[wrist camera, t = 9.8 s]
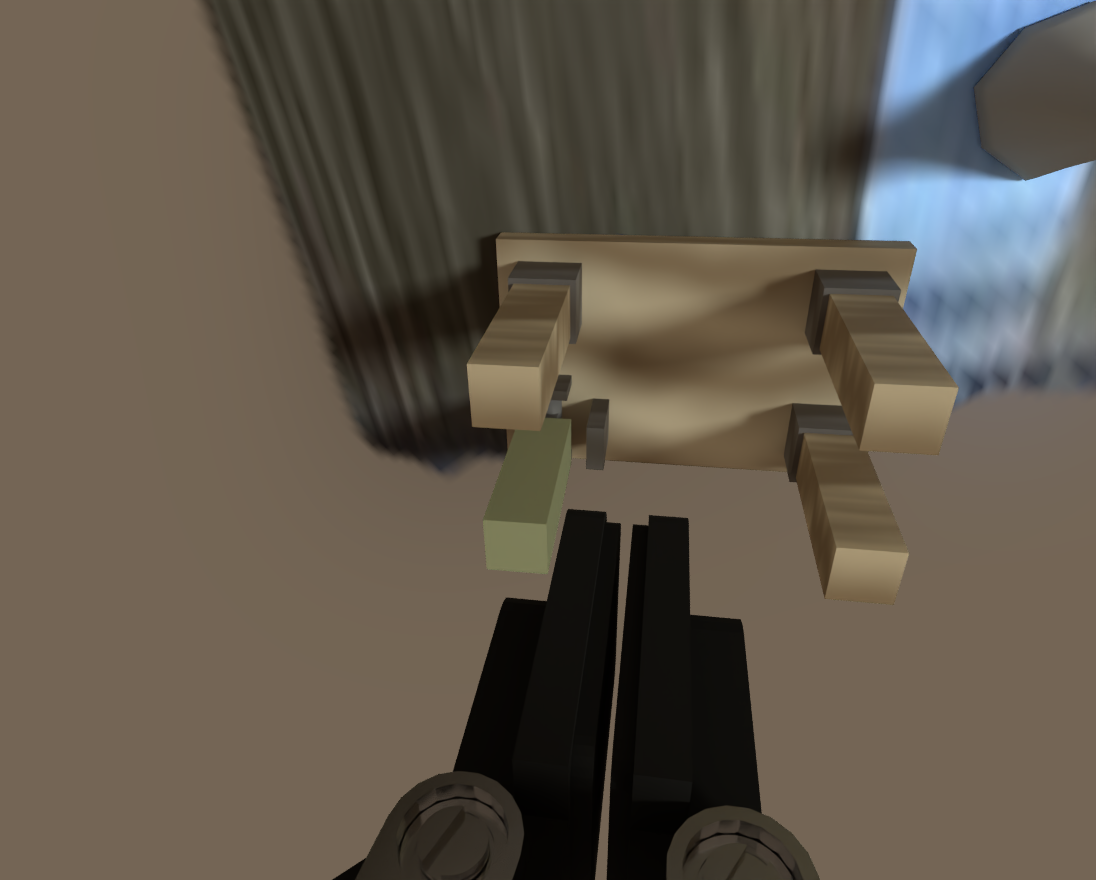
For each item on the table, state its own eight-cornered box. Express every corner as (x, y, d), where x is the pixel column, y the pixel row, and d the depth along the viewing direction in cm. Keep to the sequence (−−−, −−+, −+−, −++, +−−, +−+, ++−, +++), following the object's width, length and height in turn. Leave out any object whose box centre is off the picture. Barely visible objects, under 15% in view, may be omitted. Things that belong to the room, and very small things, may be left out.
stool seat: (501, 232, 42) (427, 328, 30) (909, 241, 39) (1014, 352, 27) (512, 442, 49) (457, 589, 37) (857, 464, 46) (920, 632, 34)
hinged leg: (527, 387, 45) (482, 511, 34) (576, 390, 45) (546, 515, 34) (529, 443, 47) (487, 577, 36) (576, 446, 47) (547, 581, 36)
